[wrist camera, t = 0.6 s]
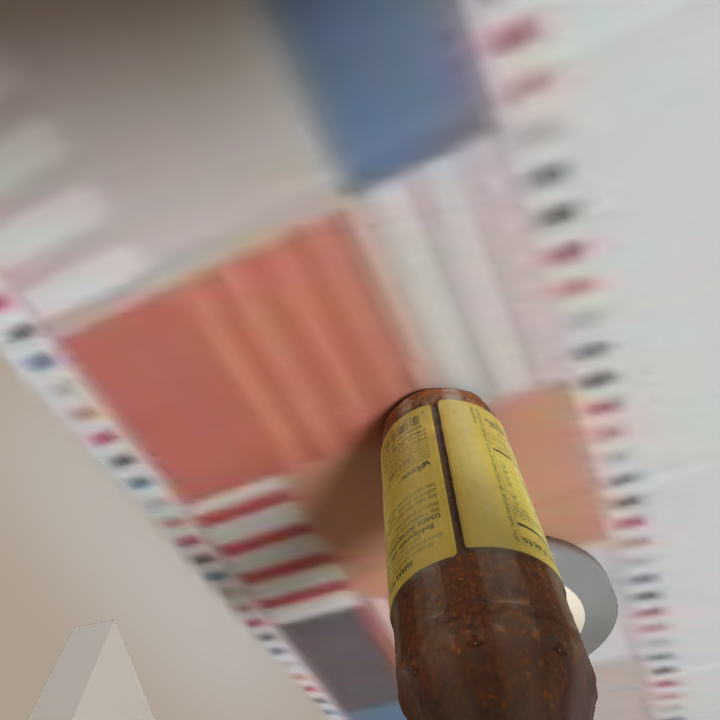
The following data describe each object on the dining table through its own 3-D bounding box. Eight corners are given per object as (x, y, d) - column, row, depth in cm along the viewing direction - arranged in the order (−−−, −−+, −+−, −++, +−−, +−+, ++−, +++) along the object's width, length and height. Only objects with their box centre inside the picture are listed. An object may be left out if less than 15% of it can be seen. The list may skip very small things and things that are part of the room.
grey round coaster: (409, 530, 32) (410, 550, 31) (633, 535, 31) (643, 555, 30) (401, 659, 38) (402, 679, 37) (587, 664, 38) (594, 685, 37)
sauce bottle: (392, 482, 30) (407, 1071, 13) (369, 389, 27) (349, 1000, 10) (512, 465, 29) (701, 1075, 12) (502, 368, 26) (740, 998, 9)
